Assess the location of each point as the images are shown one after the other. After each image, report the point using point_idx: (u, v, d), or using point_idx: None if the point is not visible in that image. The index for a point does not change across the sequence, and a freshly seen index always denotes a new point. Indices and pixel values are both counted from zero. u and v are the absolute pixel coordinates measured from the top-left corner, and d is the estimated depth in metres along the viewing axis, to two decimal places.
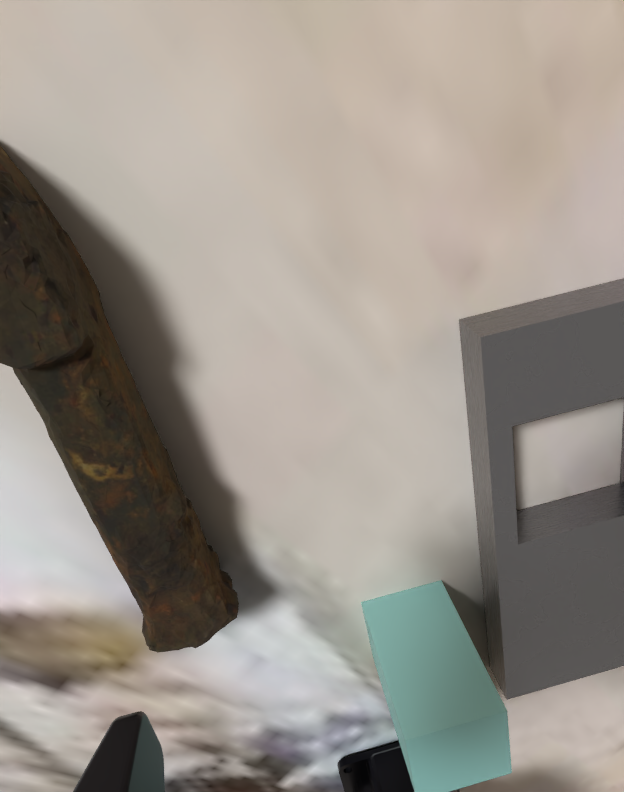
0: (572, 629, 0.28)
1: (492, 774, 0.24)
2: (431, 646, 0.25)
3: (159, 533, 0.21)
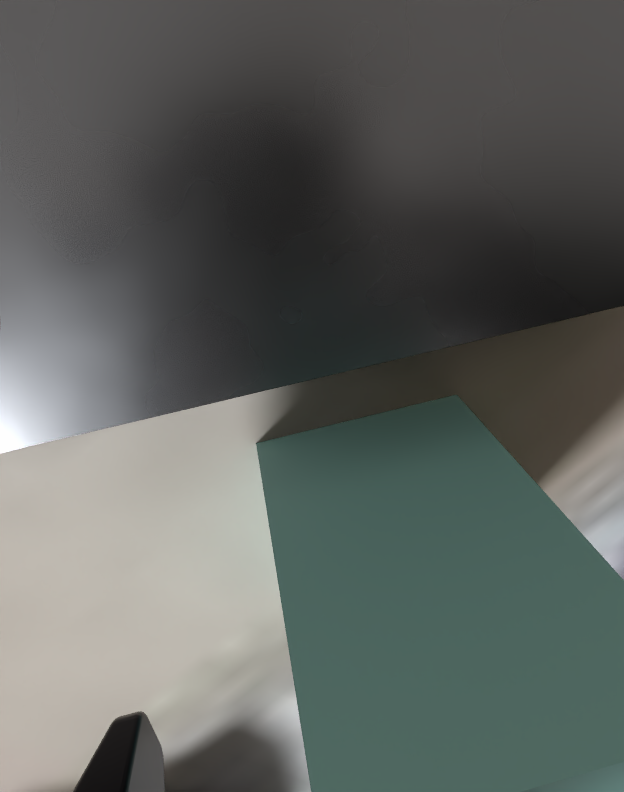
0: (429, 81, 0.07)
1: None
2: None
3: None
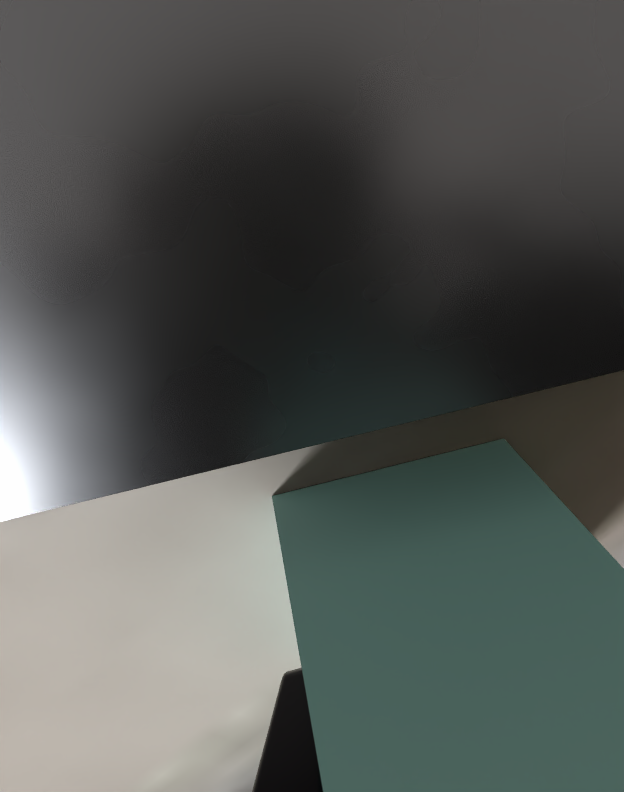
0: (503, 73, 0.06)
1: None
2: None
3: None
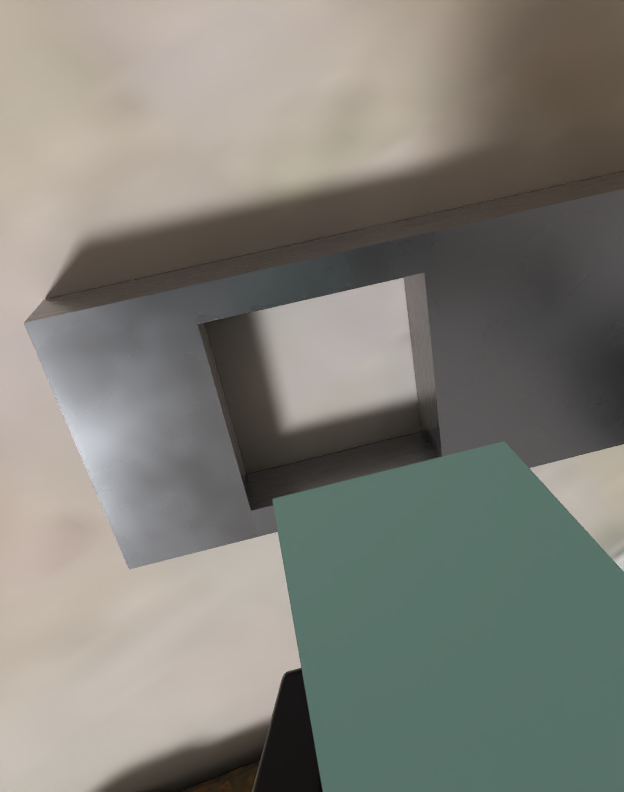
0: None
1: None
2: None
3: None
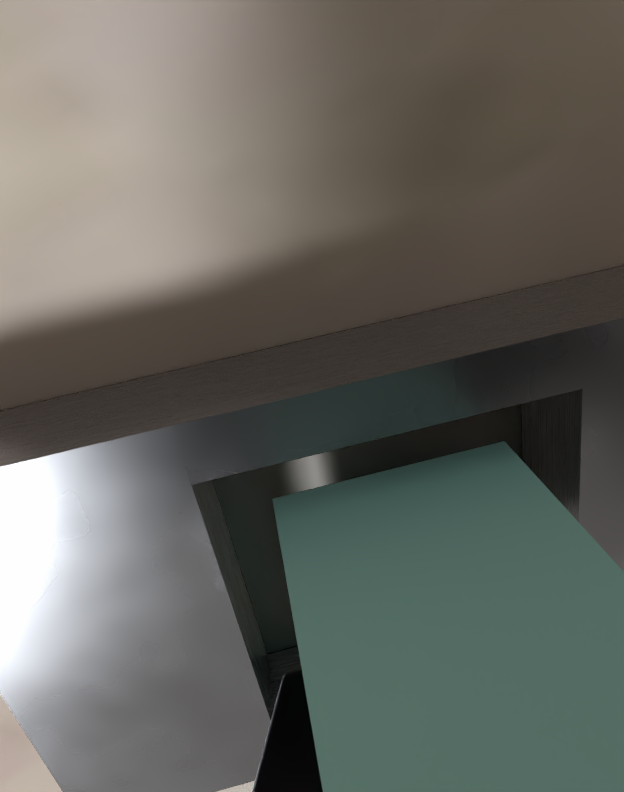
0: None
1: None
2: None
3: None
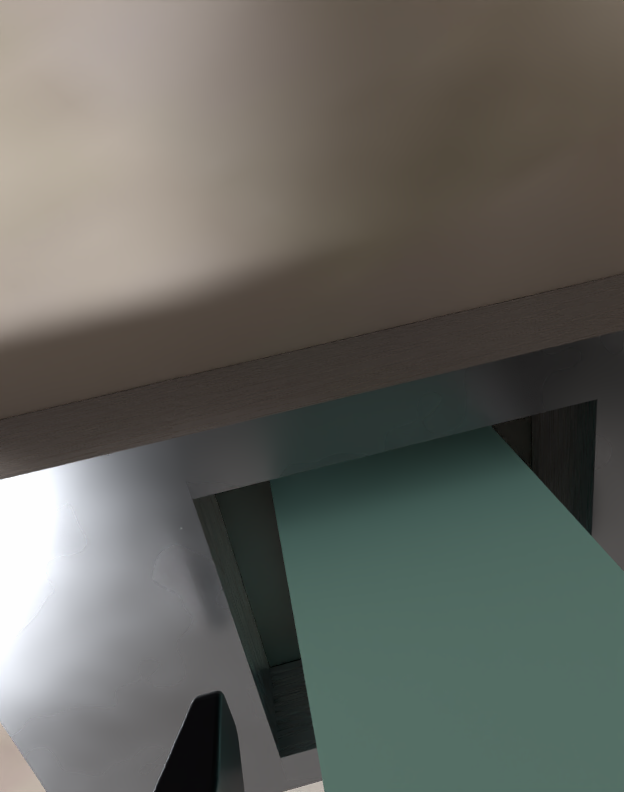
0: None
1: None
2: None
3: None
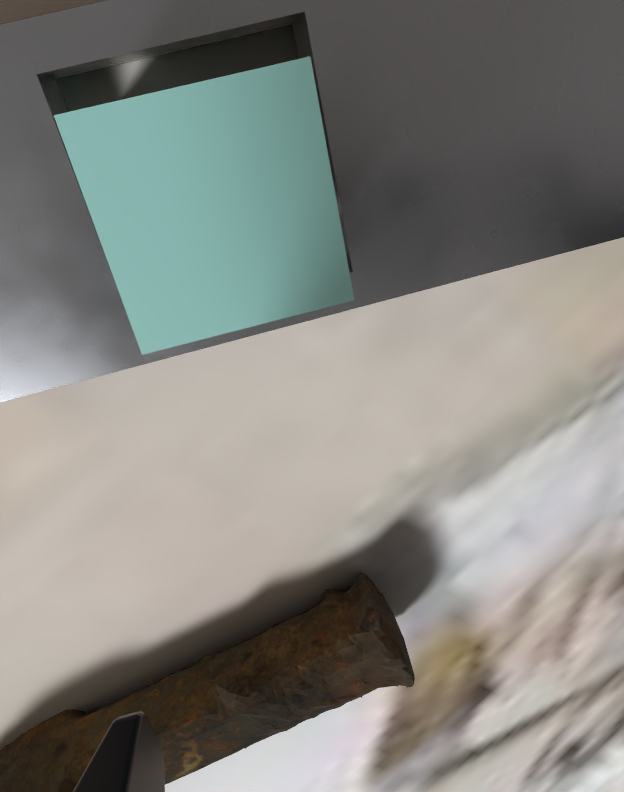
0: (570, 114, 0.15)
1: (303, 116, 0.10)
2: None
3: (255, 713, 0.21)
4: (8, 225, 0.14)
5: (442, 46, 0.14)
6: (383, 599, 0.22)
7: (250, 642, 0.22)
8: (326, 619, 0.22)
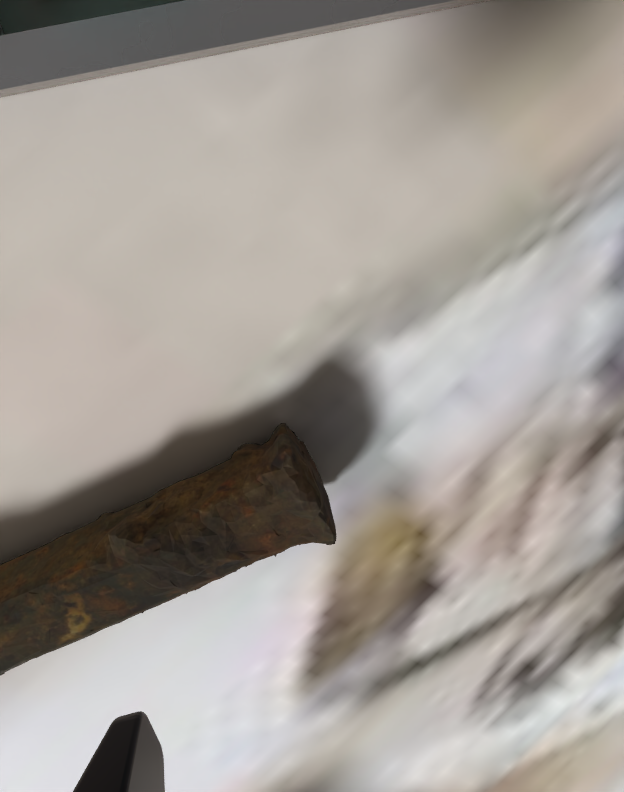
0: None
1: None
2: None
3: (148, 563, 0.18)
4: None
5: None
6: (304, 447, 0.19)
7: None
8: (237, 466, 0.19)
